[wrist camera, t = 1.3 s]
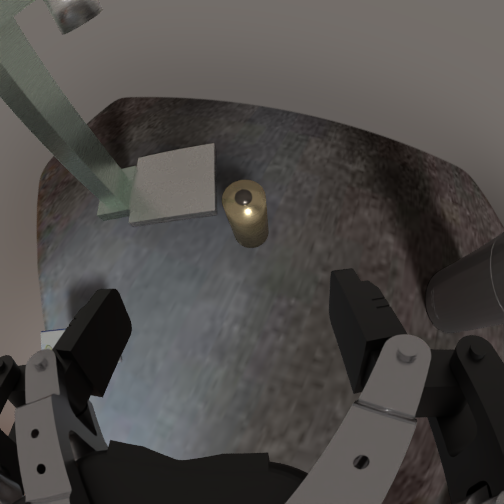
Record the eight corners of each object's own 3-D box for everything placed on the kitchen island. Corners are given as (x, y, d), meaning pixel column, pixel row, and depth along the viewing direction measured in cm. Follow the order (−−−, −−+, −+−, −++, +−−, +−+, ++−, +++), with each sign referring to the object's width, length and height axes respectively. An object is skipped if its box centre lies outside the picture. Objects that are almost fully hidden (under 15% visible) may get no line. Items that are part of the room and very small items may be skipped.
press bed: (216, 149, 42) (147, -80, 7) (217, 215, 38) (96, -76, 3) (68, 183, 44) (-48, 57, 9) (55, 240, 40) (-98, 124, 5)
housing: (266, 214, 37) (263, 176, 29) (270, 246, 36) (267, 213, 27) (233, 218, 38) (221, 181, 29) (235, 249, 36) (222, 218, 27)
